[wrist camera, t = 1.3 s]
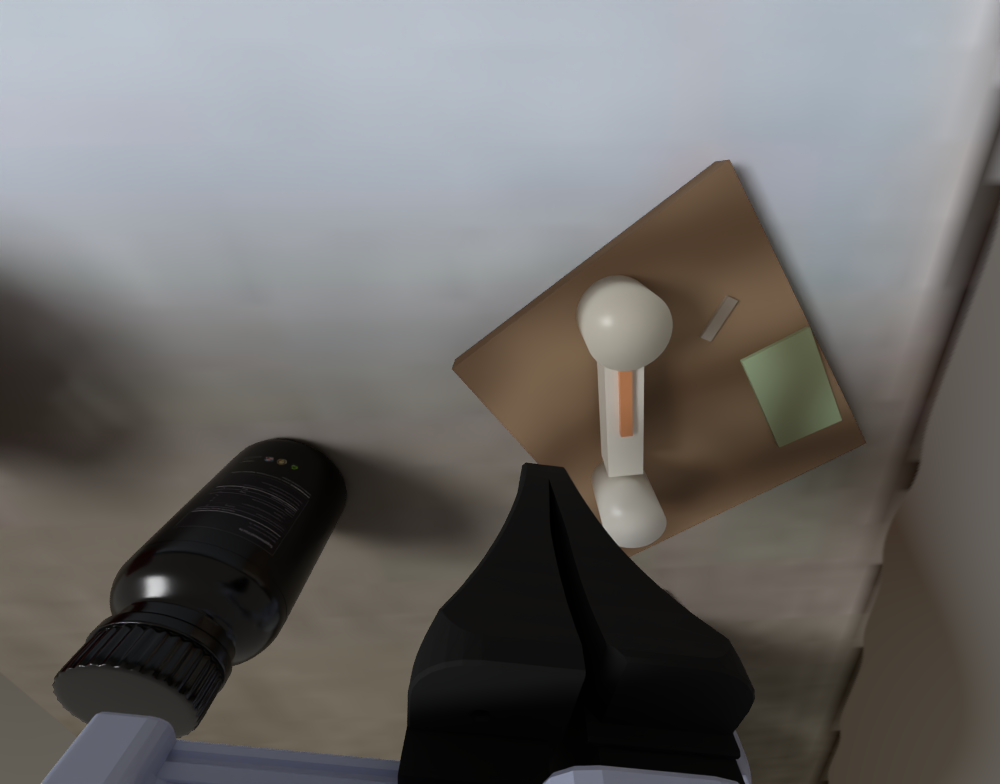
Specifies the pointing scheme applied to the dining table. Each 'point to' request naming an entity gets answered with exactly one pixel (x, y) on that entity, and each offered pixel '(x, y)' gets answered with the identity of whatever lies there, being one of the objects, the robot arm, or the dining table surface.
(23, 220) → the dining table surface
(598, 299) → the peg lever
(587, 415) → the brown wooden board
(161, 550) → the supplement bottle
